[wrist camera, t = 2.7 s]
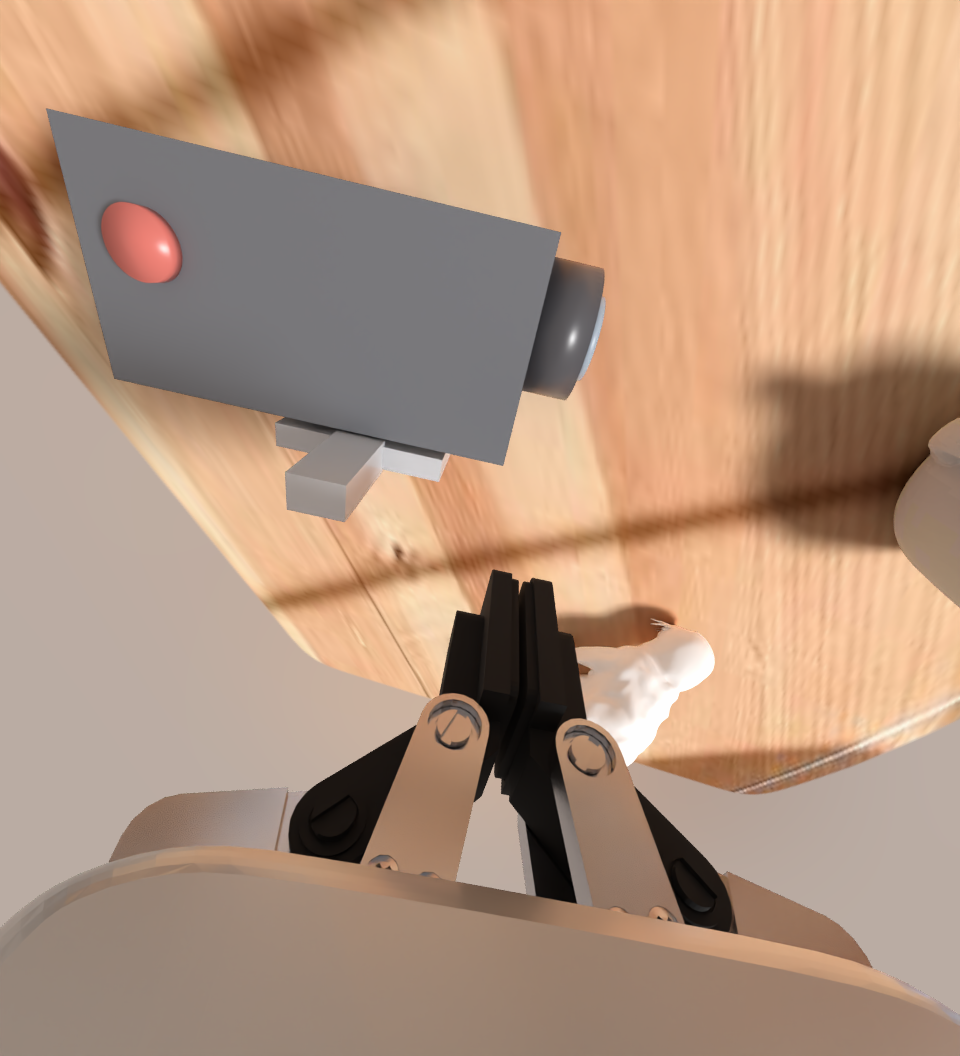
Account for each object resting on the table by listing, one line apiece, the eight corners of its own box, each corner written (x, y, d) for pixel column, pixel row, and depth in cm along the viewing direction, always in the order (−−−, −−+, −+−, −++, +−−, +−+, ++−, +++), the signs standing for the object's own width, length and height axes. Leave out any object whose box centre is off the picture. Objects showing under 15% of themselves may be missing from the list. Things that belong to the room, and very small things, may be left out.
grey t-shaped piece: (463, 411, 23) (421, 502, 14) (459, 435, 24) (416, 537, 14) (338, 383, 23) (208, 455, 13) (338, 408, 23) (213, 493, 14)
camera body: (599, 259, 19) (640, 249, 13) (549, 428, 23) (560, 486, 17) (200, 164, 19) (25, 100, 12) (222, 353, 23) (101, 383, 16)
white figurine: (533, 756, 24) (738, 678, 21) (521, 650, 32) (671, 581, 29) (581, 808, 27) (771, 745, 24) (560, 699, 34) (702, 640, 31)
